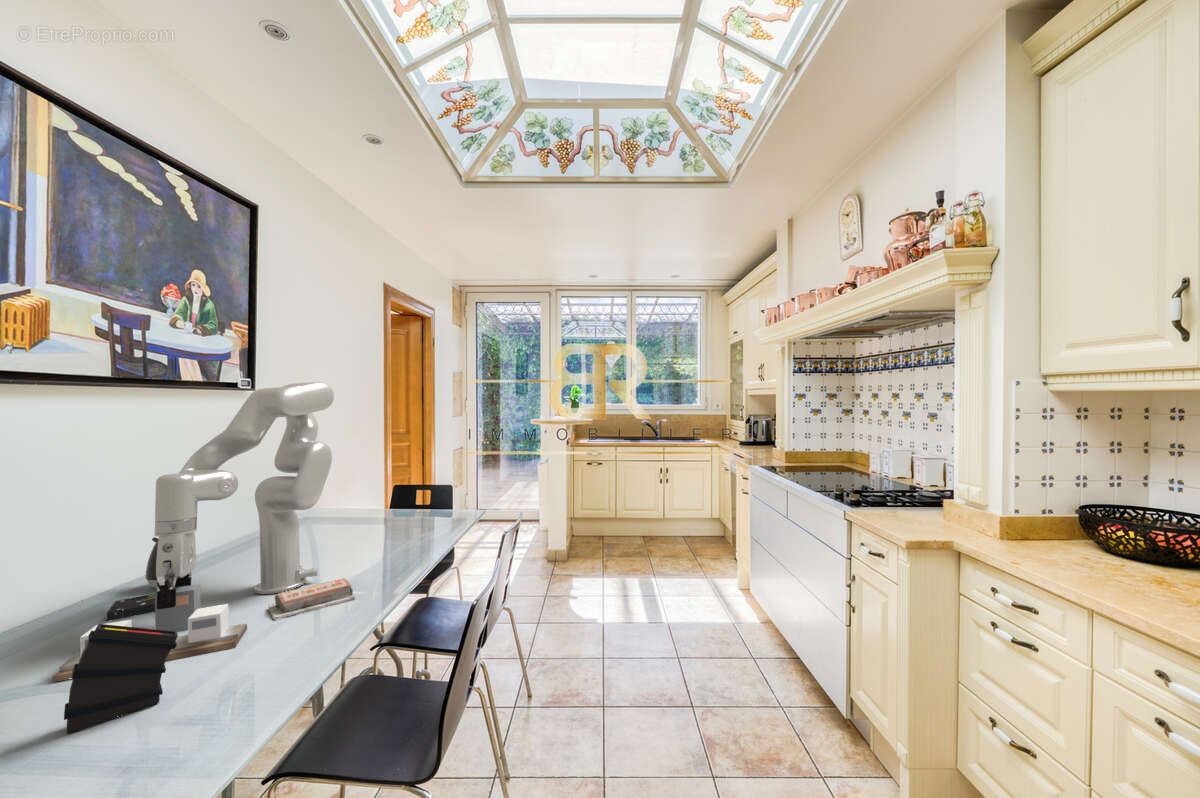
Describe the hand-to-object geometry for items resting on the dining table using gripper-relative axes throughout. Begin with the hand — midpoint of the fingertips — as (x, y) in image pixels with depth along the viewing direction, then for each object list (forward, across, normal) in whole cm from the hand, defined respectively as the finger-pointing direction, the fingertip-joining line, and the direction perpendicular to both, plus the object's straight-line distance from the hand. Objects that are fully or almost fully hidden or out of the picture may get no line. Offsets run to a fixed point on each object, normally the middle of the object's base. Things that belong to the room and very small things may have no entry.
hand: (174, 601), depth 113 cm
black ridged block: (+8, -37, -5) cm, 38 cm away
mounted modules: (+5, -13, -2) cm, 14 cm away
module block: (+7, +1, -1) cm, 7 cm away
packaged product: (+7, +1, -28) cm, 29 cm away
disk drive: (+7, +22, +11) cm, 26 cm away
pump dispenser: (+6, +41, +13) cm, 43 cm away
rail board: (+7, -13, -2) cm, 15 cm away
